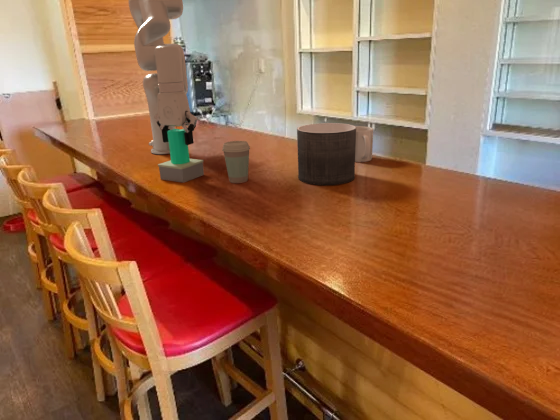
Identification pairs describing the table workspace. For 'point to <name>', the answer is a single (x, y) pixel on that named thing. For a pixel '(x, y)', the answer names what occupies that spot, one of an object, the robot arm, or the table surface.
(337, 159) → the planter
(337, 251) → the table surface
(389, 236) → the table surface
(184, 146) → the candle
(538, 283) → the table surface
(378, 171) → the table surface
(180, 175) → the pedestal
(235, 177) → the coffee cup
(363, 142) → the mug
